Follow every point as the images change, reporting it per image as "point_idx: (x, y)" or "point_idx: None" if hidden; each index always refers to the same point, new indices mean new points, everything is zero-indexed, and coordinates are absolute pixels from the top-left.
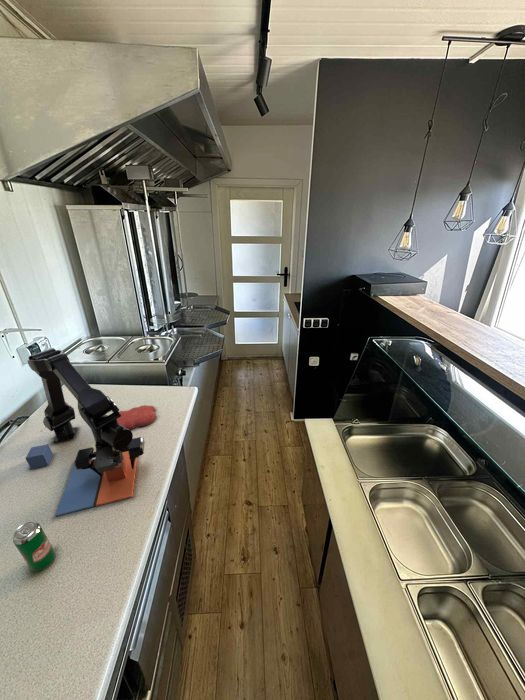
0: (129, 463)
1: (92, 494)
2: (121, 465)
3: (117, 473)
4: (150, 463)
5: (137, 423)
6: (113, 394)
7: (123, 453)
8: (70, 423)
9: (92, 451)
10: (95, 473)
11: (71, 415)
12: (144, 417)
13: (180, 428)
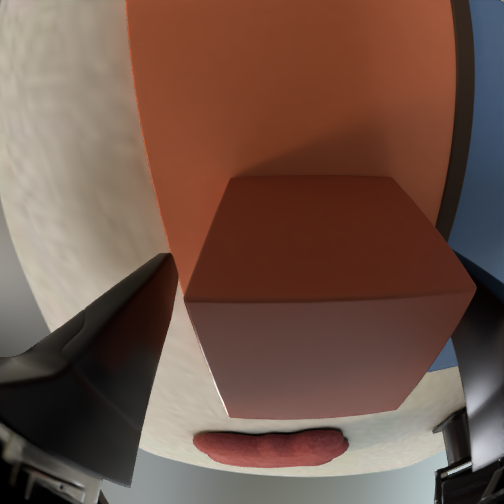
0: None
1: (493, 95)
2: (201, 321)
3: (297, 217)
4: (97, 273)
5: (248, 448)
6: (332, 470)
7: None
8: (450, 455)
9: (498, 489)
10: None
11: (450, 496)
12: (225, 455)
13: None
